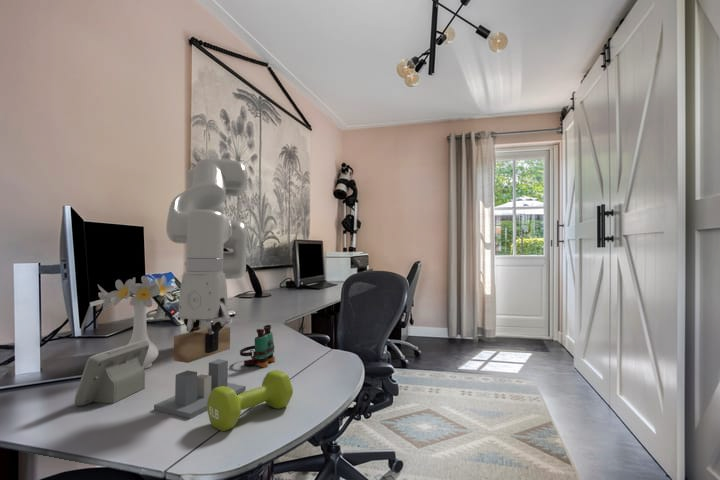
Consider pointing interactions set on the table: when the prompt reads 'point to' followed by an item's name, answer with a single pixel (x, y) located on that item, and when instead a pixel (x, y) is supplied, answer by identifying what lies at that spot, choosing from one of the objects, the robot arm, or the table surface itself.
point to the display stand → (196, 390)
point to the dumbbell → (247, 399)
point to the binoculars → (261, 348)
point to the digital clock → (113, 374)
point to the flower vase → (139, 306)
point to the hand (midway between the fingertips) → (203, 349)
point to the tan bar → (198, 345)
